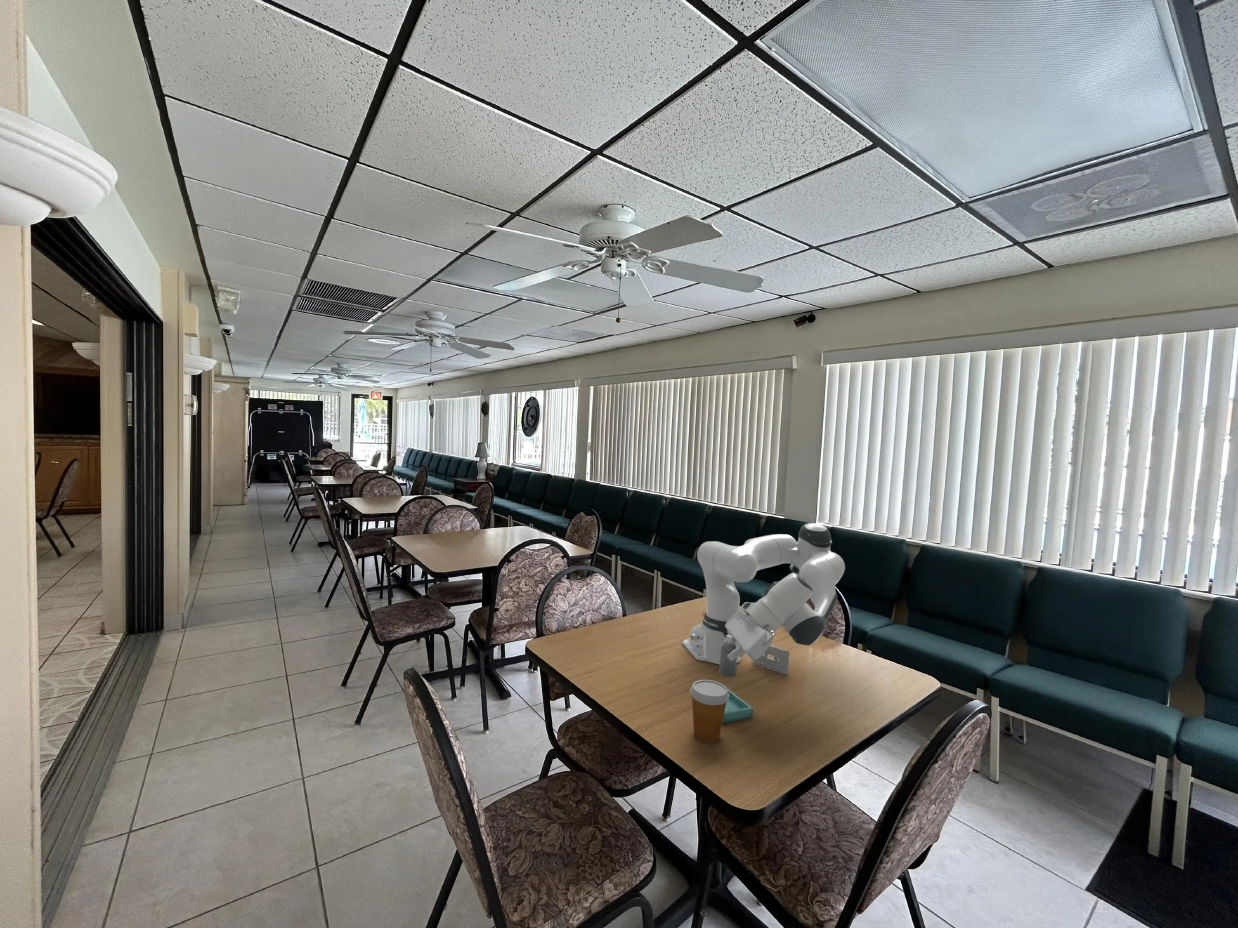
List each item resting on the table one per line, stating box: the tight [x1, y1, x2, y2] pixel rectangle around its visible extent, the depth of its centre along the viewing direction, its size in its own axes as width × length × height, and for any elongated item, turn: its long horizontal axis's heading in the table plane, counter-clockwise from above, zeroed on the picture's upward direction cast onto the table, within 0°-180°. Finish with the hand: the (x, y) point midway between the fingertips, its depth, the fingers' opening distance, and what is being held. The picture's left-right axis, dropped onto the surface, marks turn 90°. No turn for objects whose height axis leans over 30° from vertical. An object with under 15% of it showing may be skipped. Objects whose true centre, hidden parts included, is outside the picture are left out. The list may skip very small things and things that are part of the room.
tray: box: [722, 688, 754, 724], centre depth 137 cm, size 12×10×2 cm
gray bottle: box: [718, 635, 737, 678], centre depth 137 cm, size 4×4×10 cm
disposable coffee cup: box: [689, 679, 729, 743], centre depth 124 cm, size 10×10×12 cm
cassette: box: [752, 644, 790, 675], centre depth 166 cm, size 12×2×8 cm, turn 50°
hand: (725, 653), depth 137 cm, fingers closed on gray bottle, 4 cm apart
